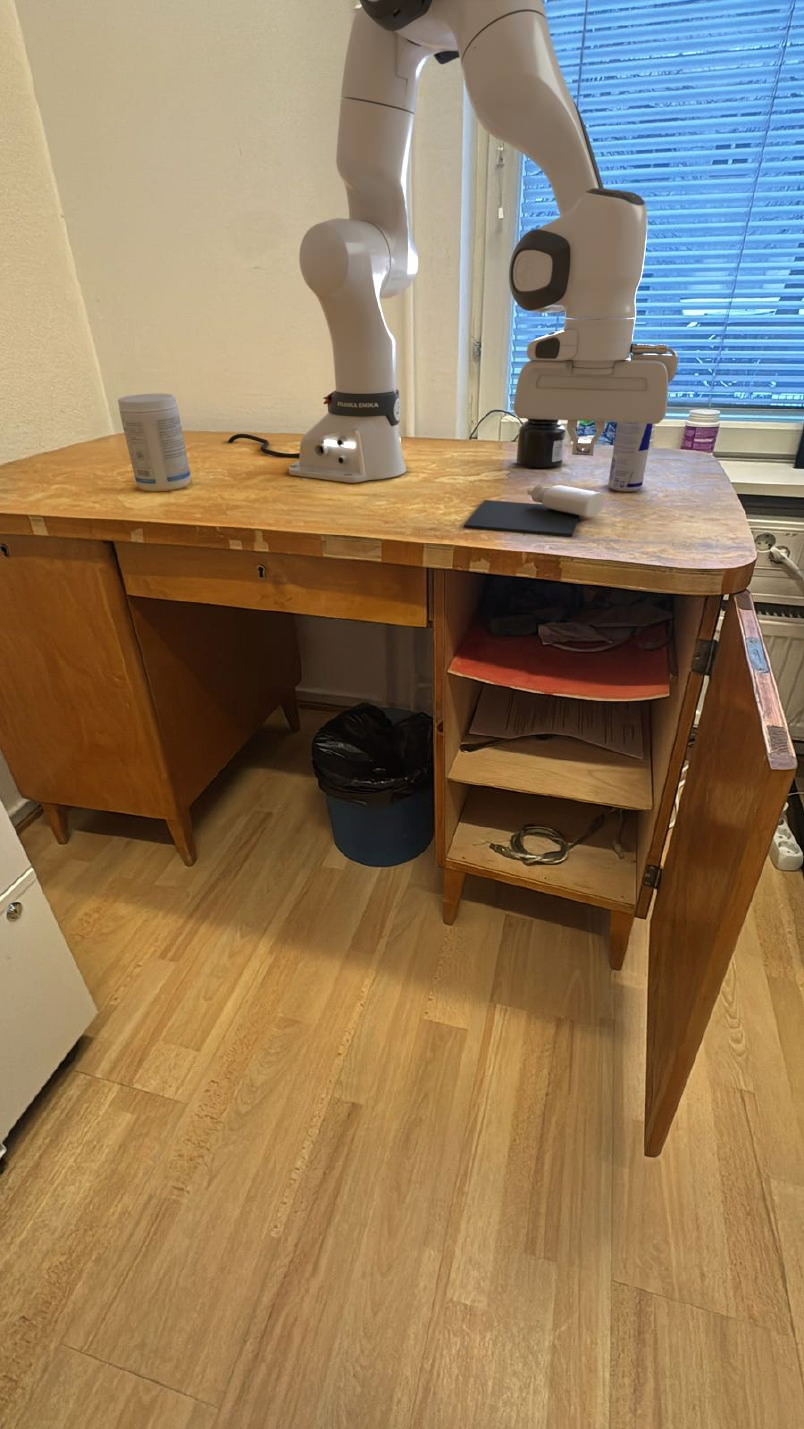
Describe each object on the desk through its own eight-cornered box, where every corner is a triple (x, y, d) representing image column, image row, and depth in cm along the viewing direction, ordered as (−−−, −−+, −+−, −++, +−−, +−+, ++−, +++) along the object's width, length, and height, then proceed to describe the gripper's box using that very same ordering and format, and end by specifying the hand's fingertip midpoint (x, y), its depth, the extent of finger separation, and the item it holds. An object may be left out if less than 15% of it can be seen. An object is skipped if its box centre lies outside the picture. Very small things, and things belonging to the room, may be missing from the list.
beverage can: (643, 493, 115) (660, 396, 107) (608, 492, 116) (622, 395, 108) (640, 485, 119) (656, 391, 111) (606, 484, 120) (620, 390, 112)
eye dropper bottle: (588, 529, 102) (521, 514, 109) (607, 504, 104) (540, 491, 111) (584, 506, 99) (515, 493, 106) (603, 481, 101) (535, 469, 108)
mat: (463, 527, 100) (463, 524, 100) (484, 502, 111) (484, 500, 111) (571, 536, 96) (572, 533, 96) (582, 509, 107) (582, 507, 107)
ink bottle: (566, 469, 130) (574, 400, 124) (519, 470, 130) (525, 401, 124) (557, 458, 138) (564, 393, 132) (513, 458, 138) (518, 394, 132)
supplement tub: (189, 477, 128) (174, 391, 120) (194, 489, 121) (179, 398, 113) (135, 482, 125) (116, 395, 118) (137, 495, 118) (117, 402, 110)
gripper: (680, 342, 89) (660, 454, 96) (524, 341, 94) (516, 446, 102) (681, 346, 84) (659, 464, 91) (515, 344, 89) (508, 455, 97)
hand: (582, 454), depth 96 cm, fingers closed
